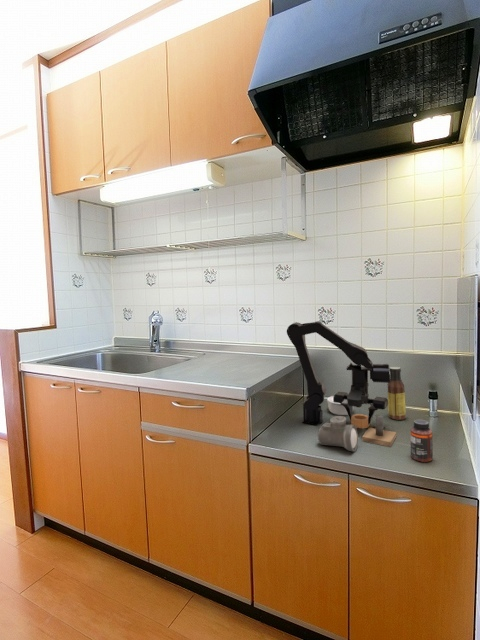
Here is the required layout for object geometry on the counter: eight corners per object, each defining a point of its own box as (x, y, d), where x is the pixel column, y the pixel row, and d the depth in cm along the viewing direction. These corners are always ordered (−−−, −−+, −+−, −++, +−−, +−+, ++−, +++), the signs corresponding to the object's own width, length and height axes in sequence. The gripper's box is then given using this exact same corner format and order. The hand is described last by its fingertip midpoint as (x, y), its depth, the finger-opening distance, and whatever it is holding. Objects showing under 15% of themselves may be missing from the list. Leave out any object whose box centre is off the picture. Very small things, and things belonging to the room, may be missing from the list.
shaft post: (362, 440, 122) (362, 417, 121) (369, 431, 130) (369, 409, 129) (390, 446, 117) (390, 422, 116) (396, 436, 124) (396, 414, 124)
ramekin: (358, 409, 153) (358, 397, 152) (351, 418, 143) (351, 405, 143) (332, 405, 159) (332, 394, 158) (323, 413, 149) (323, 401, 149)
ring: (349, 426, 135) (349, 418, 135) (354, 420, 140) (354, 413, 140) (366, 429, 131) (366, 421, 131) (371, 423, 137) (370, 416, 136)
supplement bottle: (429, 454, 111) (429, 418, 110) (435, 463, 105) (435, 425, 104) (408, 453, 112) (408, 417, 111) (413, 462, 107) (413, 425, 106)
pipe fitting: (361, 444, 119) (356, 414, 118) (353, 456, 112) (348, 424, 111) (326, 440, 126) (321, 412, 125) (317, 451, 119) (312, 422, 118)
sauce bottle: (406, 416, 142) (406, 366, 141) (404, 421, 137) (404, 370, 135) (389, 413, 146) (389, 365, 144) (386, 418, 141) (385, 368, 139)
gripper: (327, 384, 133) (328, 425, 134) (380, 390, 122) (381, 435, 124) (338, 377, 142) (338, 415, 143) (388, 382, 131) (388, 424, 133)
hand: (360, 422), depth 136 cm, fingers closed on ring, 6 cm apart
